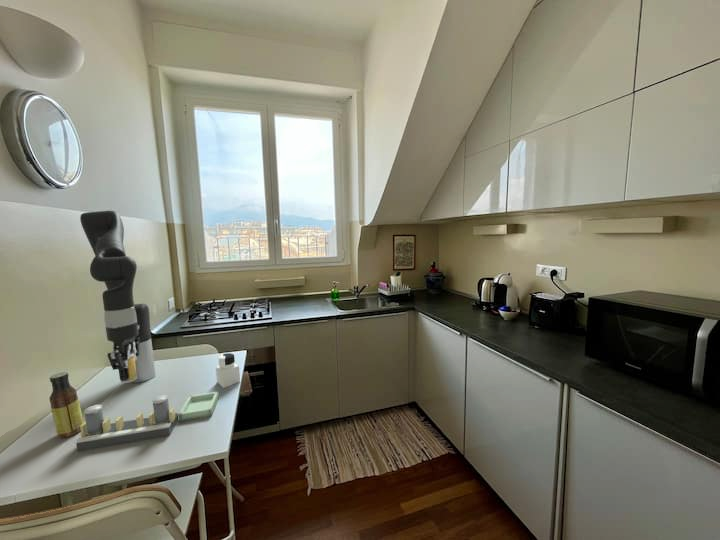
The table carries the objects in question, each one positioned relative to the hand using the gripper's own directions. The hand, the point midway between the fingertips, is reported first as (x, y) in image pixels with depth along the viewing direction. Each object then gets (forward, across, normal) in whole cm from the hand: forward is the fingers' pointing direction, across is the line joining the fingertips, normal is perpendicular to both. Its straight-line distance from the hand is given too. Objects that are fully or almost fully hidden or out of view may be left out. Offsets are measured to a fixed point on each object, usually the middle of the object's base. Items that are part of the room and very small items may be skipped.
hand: (128, 375), depth 92 cm
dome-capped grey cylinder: (+17, +1, -10) cm, 19 cm away
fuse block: (+19, +1, -1) cm, 19 cm away
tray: (+19, -8, +16) cm, 27 cm away
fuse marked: (+1, 0, 0) cm, 1 cm away
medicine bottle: (+19, -26, +23) cm, 40 cm away
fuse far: (+17, +1, +8) cm, 18 cm away
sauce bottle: (+19, -6, -21) cm, 29 cm away
